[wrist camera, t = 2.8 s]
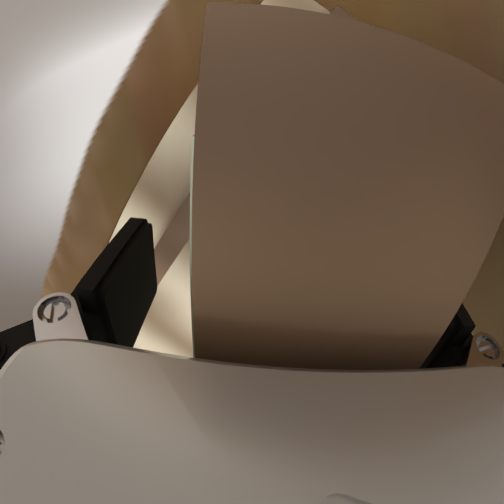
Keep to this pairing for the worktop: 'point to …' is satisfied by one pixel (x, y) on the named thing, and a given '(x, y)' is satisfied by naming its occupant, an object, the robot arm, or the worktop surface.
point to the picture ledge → (176, 221)
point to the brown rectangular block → (335, 190)
